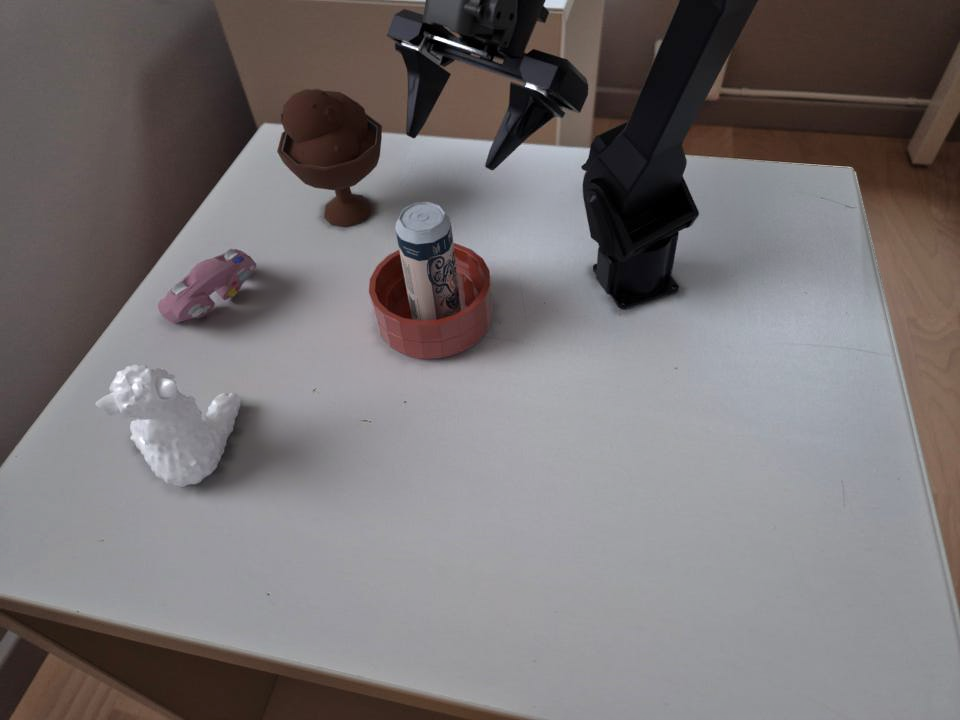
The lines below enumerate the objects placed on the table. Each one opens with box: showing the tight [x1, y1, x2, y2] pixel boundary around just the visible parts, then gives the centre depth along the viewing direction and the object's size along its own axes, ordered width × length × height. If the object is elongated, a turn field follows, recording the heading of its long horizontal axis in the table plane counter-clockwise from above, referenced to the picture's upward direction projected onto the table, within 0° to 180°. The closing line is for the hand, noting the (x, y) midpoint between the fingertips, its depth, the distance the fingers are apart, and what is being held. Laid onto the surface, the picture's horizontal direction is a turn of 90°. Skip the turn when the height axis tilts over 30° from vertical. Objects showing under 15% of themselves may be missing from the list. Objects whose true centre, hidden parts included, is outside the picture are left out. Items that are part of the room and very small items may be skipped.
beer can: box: [394, 201, 461, 321], centre depth 68 cm, size 5×5×12 cm
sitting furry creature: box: [95, 363, 242, 488], centre depth 60 cm, size 10×9×12 cm
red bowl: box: [368, 242, 494, 360], centre depth 71 cm, size 11×11×5 cm
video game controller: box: [157, 248, 257, 324], centre depth 74 cm, size 10×5×7 cm, turn 139°
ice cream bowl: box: [276, 88, 383, 228], centre depth 79 cm, size 11×11×15 cm
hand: (448, 152), depth 67 cm, fingers open, 9 cm apart
